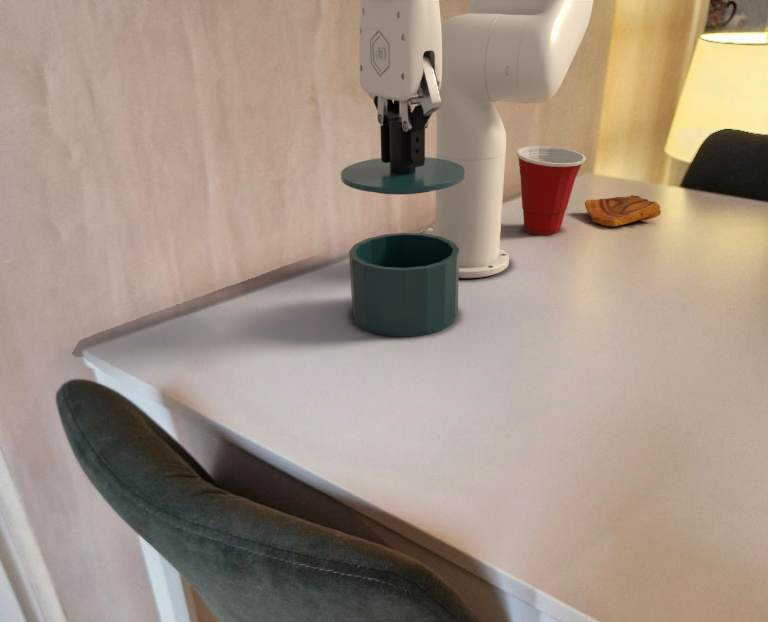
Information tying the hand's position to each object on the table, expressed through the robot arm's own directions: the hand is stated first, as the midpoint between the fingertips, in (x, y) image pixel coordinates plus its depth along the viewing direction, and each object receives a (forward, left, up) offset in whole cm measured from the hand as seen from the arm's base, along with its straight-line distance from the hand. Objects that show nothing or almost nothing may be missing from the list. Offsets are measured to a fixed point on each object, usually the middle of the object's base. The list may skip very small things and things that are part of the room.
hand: (402, 162), depth 89 cm
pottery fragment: (-12, +52, -19) cm, 57 cm away
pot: (0, 0, -19) cm, 19 cm away
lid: (0, 0, -2) cm, 2 cm away
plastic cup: (-15, +38, -19) cm, 45 cm away
